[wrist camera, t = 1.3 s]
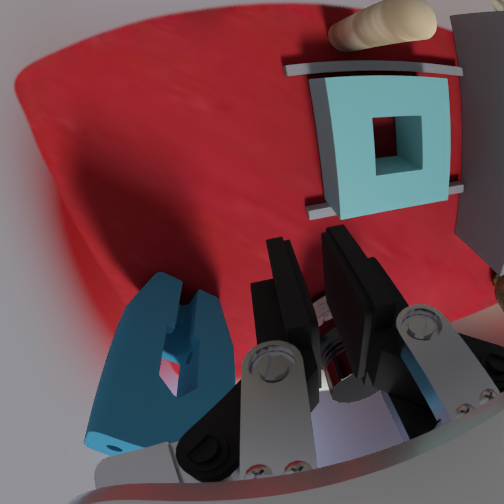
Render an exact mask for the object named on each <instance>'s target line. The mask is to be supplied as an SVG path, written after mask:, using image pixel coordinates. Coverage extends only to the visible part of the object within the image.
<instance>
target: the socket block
mask: <svg viewBox="0 0 504 504" xmlns="http://www.w3.org/2000/svg"><path fill="white" fill-rule="evenodd" d="M308 80H309V86H310V92H311V98H312V104H313V110H314V116H315V123H316V130H317V137H318V145H319V152H320V160H321V169H322V178H323V187H324V197H325V200H326V201H327V203H328V204H329V205H330V206H331V208H332V209H333V210H334V212H335V213H336V214H337V216H338V217H339V218H340V220H342V219H347V218H353V217H358V216H363V215H368V214H374V213H379V212H384V211H389V210H395V209H400V208H405V207H411V206H416V205H422V204H427V203H433V202H438V201H444V200H448V191H449V176H450V106H449V91H448V80H447V79H445V78H434V77H421V76H395V75H369V76H343V77H328V78H316V79H308ZM393 116H395V126H396V144H397V156H390V157H381V158H375V147H374V134H373V122H372V118H376V117H393Z"/></svg>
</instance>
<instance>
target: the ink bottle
mask: <svg viewBox="0 0 504 504" xmlns="http://www.w3.org/2000/svg"><path fill="white" fill-rule="evenodd" d="M311 301H312V304H313V307H314V309H315V312H316V316H317V320H318V325H319V335H320V356H321V369H322V370H324V372H325V376H326V380H327V383H328V387H329V390H330V394H331V396H332V398H333V400H336V401H338V402H347V403H350V402H354V401H359V400H361V399H364V398H367V397H369V396H371V395H373V394H374V393H376V392H377V391H379V389H377V388H374V387H373V385H372V384H369V385H366V386H364V384H363V381H362V379H361V377H360V378H356V377H355V375H354V373H353V370H352V367H351V365H350V362H349V359H348V357H347V354H346V351H345V348H344V346H343V343H342V341H341V338H340V335H339V333H338V330H337V328H336V325H335V322H334V320H333V317H332V315H331V312H330V310H329V307H328V305H327V301H326V296H325V291H324V292H322V293H320V294H318V295H316V296H315V297H314V298H313V299H312V300H311Z"/></svg>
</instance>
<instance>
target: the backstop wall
mask: <svg viewBox="0 0 504 504" xmlns="http://www.w3.org/2000/svg"><path fill="white" fill-rule="evenodd" d="M450 20H451V24H452V29H453V35H454V40H455V46H456V53H457V60H458V67H454V66H447V65H439V64H430V63H419V62H406V61H381V60H354V61H329V62H315V63H303V64H294V65H285V66H283V68H284V73H285V77H287V76H295V75H304V74H314V73H326V72H342V71H412V72H427V73H439V74H448V75H456V76H460V87H461V101H462V169H461V183H460V182H459V181H456V182H449V191H448V195H450V194H456V193H460V195H459V204H458V213H457V220H456V227H455V234H456V235H457V236H458V237H459V238H460V239H461V240H462V241H463V242H465V243H466V244H467V245H468V246H469V247H470V248H471V249H472V250H473V251H474V252H475V253H476V254H478V255H479V256H480V257H481V258H482V259H483V260H484V261H485V262H486V263H487V264H488V265H489V266H490V267H491V268H492V269H493V270H494V271H495V272H496V273H497V274H498V275H499V276H502V275H504V11H496V12H480V13H469V14H461V15H453V16H450ZM306 213H307V216H308V218H309V220H313V219H318V218H323V217H328V216H334V215H337V214H336V213H335V212H334V210H333V209H332V208H331V206H330V205H329V204H328V203H327V202H326V203H321V204H315V205H310V206H306Z"/></svg>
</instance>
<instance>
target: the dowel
mask: <svg viewBox="0 0 504 504" xmlns="http://www.w3.org/2000/svg"><path fill="white" fill-rule="evenodd" d="M436 28H437V22H436V17H435V14H434V12H433V10H432V8H431V7H430V5H429V4H428V3H427V2H426V1H425V0H383V1H381V2H378V3H376V4H374V5H372V6H369V7H367V8H365V9H363V10H361V11H359V12H357V13H355V14H353V15H351V16H349V17H347V18H345V19H343V20H341V21H339V22H337V23H335V24H333V25H332V26H331V27H330V28H329V31H328V39H329V41H330V43H331V45H332V46H333V47H334V48H335V49H337V50H339V51H341V52H347V53H348V52H353V51H358V50H362V49H367V48H372V47H377V46H383V45H389V44H395V43H402V42H409V41H417V40H425V39H429V38H431V37H432V36H433V35H434V34H435V32H436Z"/></svg>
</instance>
